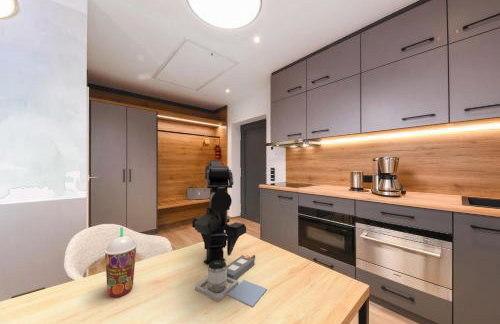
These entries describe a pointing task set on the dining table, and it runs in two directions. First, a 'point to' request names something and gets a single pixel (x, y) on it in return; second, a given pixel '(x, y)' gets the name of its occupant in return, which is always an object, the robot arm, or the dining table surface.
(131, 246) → the smoothie
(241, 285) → the mat
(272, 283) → the dining table surface
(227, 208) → the robot arm
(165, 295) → the dining table surface
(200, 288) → the grey frame with handle
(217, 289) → the camera lens
